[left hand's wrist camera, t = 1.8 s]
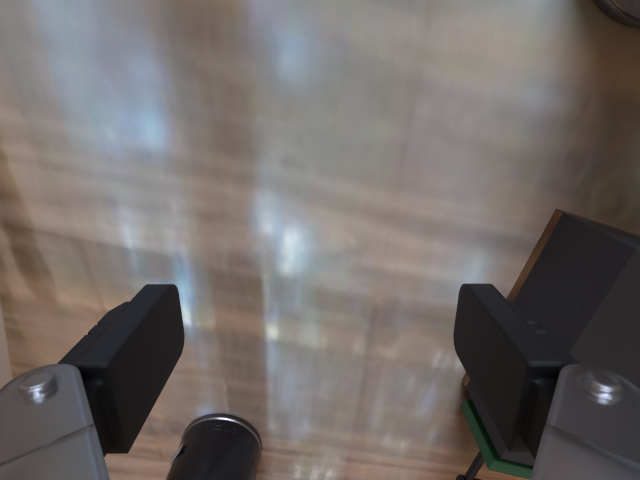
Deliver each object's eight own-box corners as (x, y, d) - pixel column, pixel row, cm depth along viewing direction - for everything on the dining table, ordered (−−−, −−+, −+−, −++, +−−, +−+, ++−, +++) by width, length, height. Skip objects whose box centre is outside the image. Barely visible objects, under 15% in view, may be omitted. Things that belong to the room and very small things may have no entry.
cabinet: (548, 403, 44) (608, 485, 35) (461, 380, 43) (500, 458, 34) (656, 241, 37) (766, 290, 28) (556, 208, 36) (636, 248, 27)
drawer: (512, 463, 46) (548, 532, 39) (438, 445, 45) (460, 512, 38) (635, 280, 38) (710, 325, 30) (546, 252, 37) (602, 292, 29)
